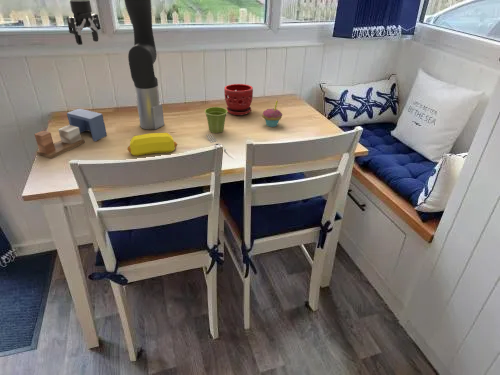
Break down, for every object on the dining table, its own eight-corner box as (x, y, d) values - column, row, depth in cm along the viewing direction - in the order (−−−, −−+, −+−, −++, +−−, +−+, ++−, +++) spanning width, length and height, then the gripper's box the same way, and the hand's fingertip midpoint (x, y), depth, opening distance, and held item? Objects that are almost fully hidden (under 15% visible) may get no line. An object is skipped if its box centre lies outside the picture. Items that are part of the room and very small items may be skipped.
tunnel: (108, 134, 146) (104, 112, 142) (95, 141, 141) (90, 118, 136) (86, 128, 151) (81, 107, 146) (72, 134, 145) (66, 113, 140)
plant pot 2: (257, 110, 174) (258, 86, 167) (242, 119, 164) (242, 93, 158) (234, 105, 180) (235, 81, 173) (219, 113, 170) (218, 87, 164)
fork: (234, 164, 129) (234, 159, 128) (205, 138, 146) (205, 134, 145) (242, 162, 131) (242, 157, 130) (212, 137, 148) (212, 133, 147)
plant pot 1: (231, 128, 155) (230, 108, 151) (222, 136, 148) (222, 116, 143) (211, 124, 158) (210, 105, 153) (201, 132, 150) (200, 113, 146)
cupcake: (284, 123, 161) (286, 97, 155) (277, 130, 155) (278, 103, 148) (266, 119, 164) (267, 93, 158) (258, 126, 158) (259, 99, 151)
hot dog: (127, 149, 136) (128, 159, 130) (125, 133, 132) (125, 142, 126) (176, 144, 141) (178, 153, 135) (174, 128, 137) (177, 136, 131)
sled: (84, 142, 140) (79, 122, 135) (50, 158, 128) (44, 137, 124) (71, 139, 142) (66, 119, 138) (37, 154, 131) (30, 133, 126)
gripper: (71, 1, 136) (81, 46, 145) (100, -2, 147) (107, 41, 156) (57, 0, 139) (67, 44, 147) (86, -3, 150) (94, 39, 158)
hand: (88, 42), depth 151 cm, fingers open, 8 cm apart
